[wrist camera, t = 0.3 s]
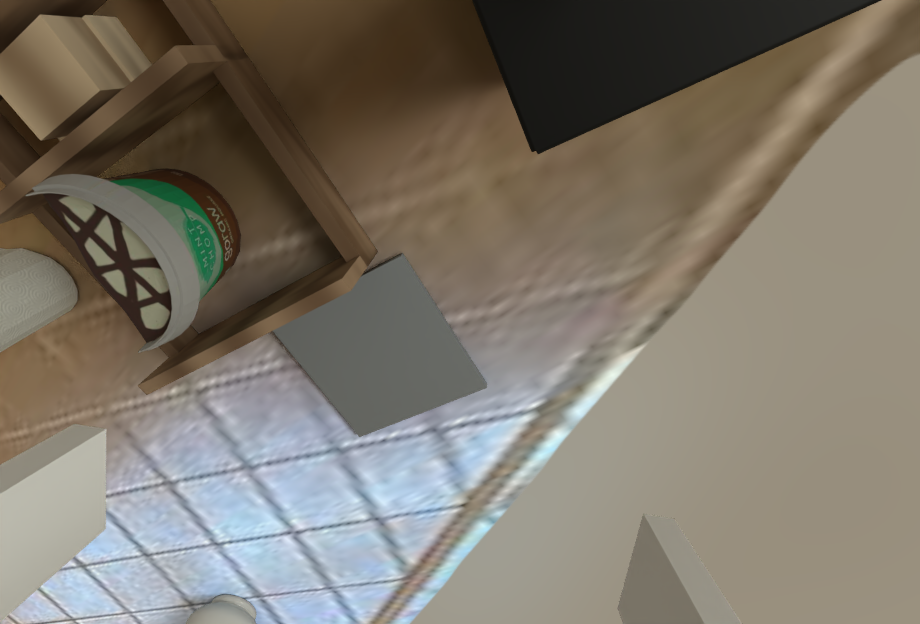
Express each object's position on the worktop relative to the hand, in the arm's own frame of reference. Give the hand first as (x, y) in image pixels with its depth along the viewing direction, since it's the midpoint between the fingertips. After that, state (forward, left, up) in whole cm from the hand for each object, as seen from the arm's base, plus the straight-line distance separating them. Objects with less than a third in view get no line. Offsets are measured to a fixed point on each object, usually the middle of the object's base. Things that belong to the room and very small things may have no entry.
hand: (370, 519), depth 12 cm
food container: (+19, -8, -28) cm, 35 cm away
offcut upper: (+18, -20, -25) cm, 37 cm away
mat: (+14, +8, -28) cm, 32 cm away
